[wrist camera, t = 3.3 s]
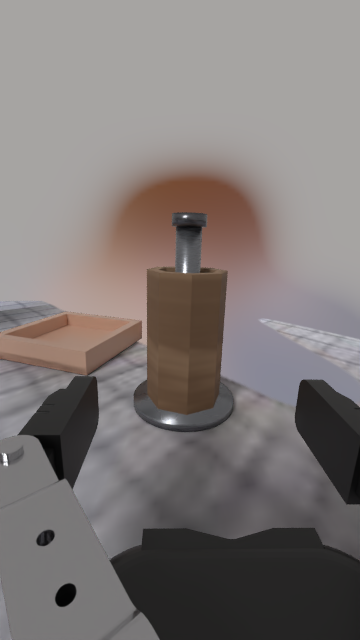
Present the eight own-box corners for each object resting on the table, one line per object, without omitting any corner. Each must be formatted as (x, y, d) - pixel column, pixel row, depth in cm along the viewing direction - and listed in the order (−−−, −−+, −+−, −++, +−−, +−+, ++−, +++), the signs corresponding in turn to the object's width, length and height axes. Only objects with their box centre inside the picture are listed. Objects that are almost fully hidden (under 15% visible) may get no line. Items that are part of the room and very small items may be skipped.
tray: (-9, 356, 31) (-12, 335, 31) (66, 327, 42) (65, 311, 42) (86, 375, 28) (85, 351, 27) (141, 337, 39) (141, 320, 38)
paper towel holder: (114, 417, 21) (106, 208, 17) (157, 372, 29) (158, 218, 25) (223, 443, 19) (241, 207, 15) (238, 387, 26) (253, 219, 22)
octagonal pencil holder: (138, 404, 22) (136, 270, 19) (169, 369, 28) (171, 264, 25) (208, 419, 20) (217, 276, 18) (225, 378, 26) (233, 267, 24)
